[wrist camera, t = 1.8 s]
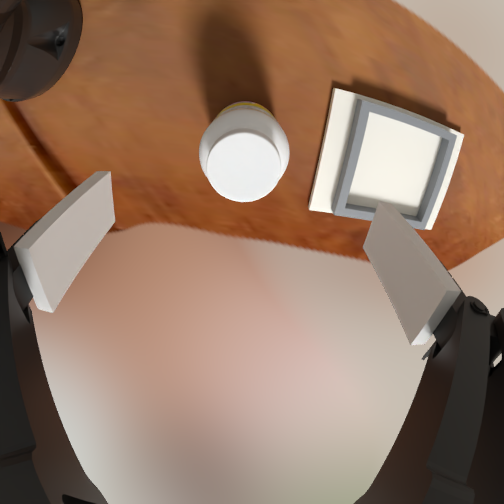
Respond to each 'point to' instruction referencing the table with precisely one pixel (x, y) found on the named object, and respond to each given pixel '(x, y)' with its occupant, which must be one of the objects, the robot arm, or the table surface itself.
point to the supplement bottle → (244, 152)
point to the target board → (382, 161)
